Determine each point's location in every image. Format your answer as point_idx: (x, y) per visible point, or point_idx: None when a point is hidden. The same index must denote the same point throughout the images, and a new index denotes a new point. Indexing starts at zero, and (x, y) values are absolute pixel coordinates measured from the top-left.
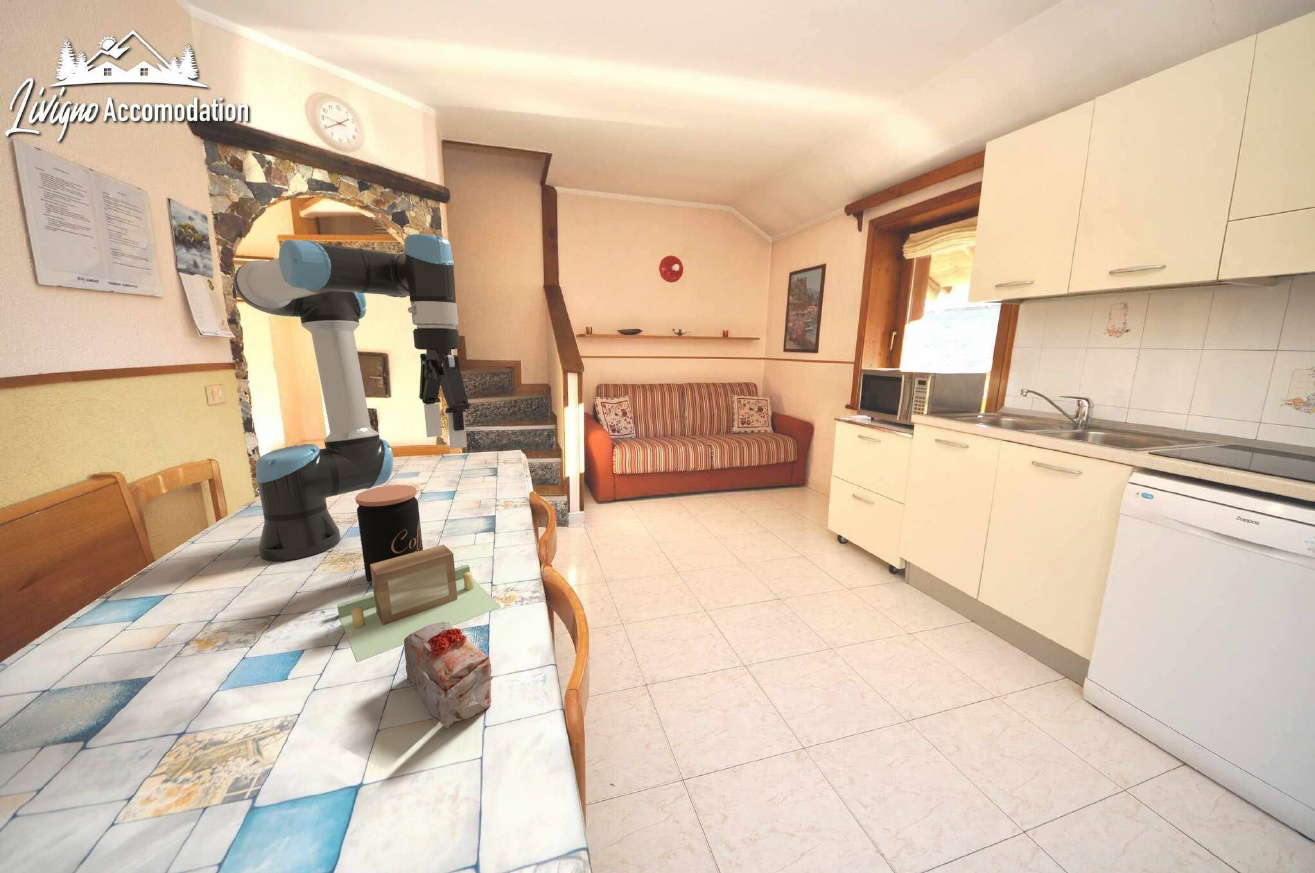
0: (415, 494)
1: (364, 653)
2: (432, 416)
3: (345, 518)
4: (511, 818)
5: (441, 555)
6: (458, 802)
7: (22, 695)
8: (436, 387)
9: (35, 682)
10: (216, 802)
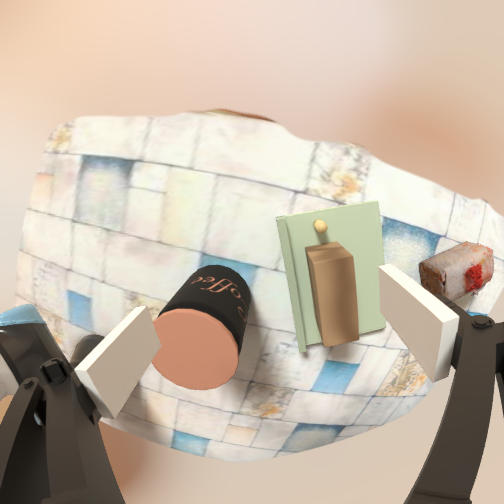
0: (201, 312)
1: (378, 323)
2: (125, 368)
3: (49, 323)
4: None
5: (351, 271)
6: (497, 269)
7: (278, 455)
8: (87, 453)
9: (266, 455)
10: None
